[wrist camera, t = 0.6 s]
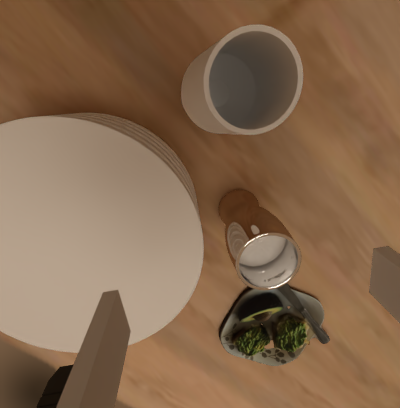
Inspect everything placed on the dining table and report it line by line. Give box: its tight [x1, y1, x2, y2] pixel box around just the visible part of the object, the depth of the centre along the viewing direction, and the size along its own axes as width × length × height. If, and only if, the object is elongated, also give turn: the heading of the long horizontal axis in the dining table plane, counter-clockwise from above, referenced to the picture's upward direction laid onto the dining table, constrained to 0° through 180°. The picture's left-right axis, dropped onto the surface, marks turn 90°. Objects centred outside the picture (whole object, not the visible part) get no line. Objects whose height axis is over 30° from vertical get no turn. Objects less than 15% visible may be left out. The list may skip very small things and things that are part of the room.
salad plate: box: [219, 283, 330, 366], centre depth 47 cm, size 19×18×5 cm
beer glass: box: [218, 189, 301, 290], centre depth 34 cm, size 7×7×15 cm
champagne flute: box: [181, 25, 303, 135], centre depth 24 cm, size 7×7×24 cm
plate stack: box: [0, 113, 204, 353], centre depth 35 cm, size 28×28×12 cm
